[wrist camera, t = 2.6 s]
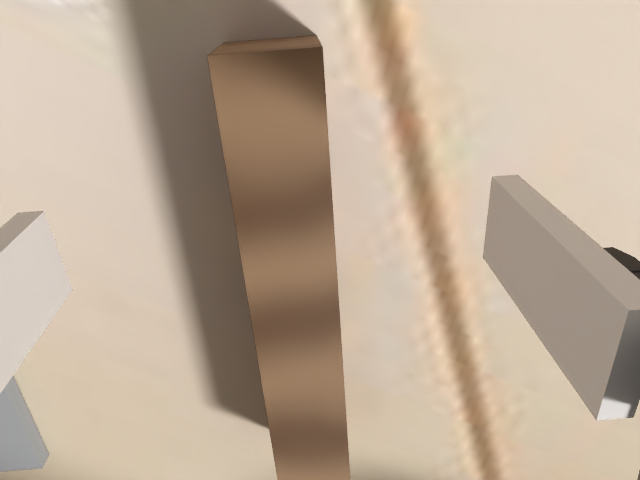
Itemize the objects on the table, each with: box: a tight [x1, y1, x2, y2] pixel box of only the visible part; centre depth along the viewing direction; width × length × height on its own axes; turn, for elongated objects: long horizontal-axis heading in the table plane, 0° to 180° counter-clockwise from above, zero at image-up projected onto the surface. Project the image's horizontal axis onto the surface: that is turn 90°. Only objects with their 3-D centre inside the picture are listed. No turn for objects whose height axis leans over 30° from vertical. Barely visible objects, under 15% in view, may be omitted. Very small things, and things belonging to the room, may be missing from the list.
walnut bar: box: [207, 35, 350, 480], centre depth 25 cm, size 24×4×5 cm, turn 4°
